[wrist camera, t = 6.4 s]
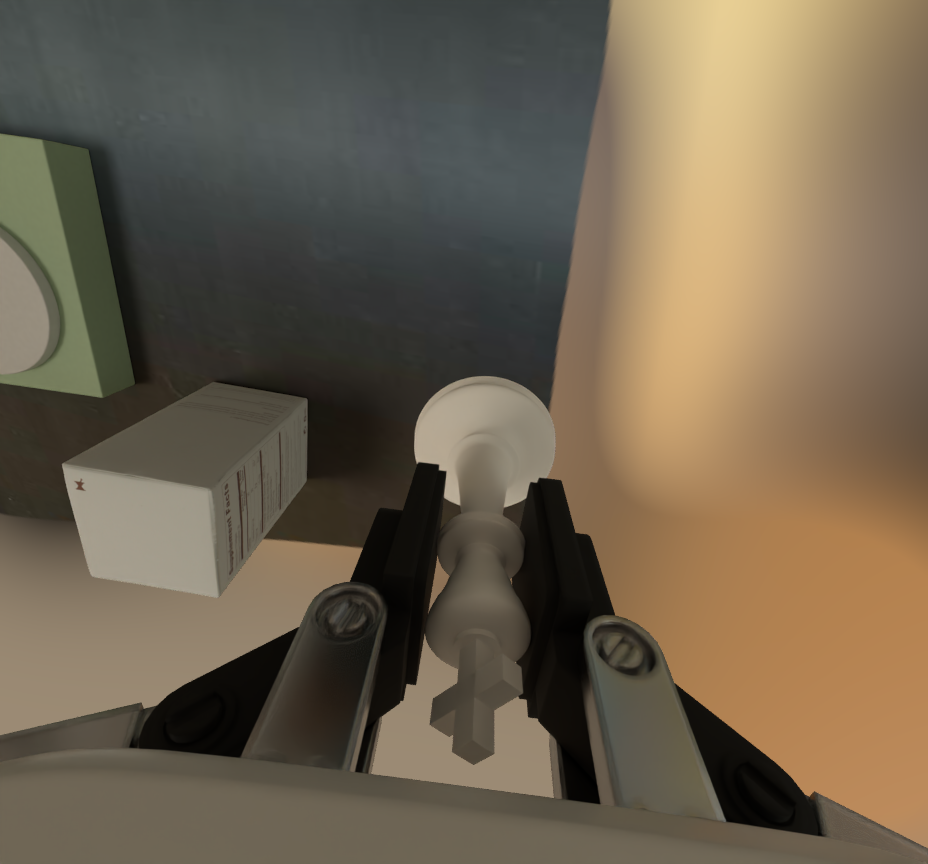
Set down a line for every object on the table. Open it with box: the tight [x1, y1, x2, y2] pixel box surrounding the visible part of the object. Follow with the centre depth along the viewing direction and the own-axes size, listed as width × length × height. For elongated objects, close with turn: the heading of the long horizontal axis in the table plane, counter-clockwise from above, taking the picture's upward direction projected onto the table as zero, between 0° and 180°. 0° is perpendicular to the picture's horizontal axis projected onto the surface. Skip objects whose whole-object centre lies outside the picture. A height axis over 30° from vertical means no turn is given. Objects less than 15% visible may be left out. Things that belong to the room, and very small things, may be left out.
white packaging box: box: [62, 382, 308, 598], centre depth 28 cm, size 7×7×13 cm
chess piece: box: [414, 376, 556, 765], centre depth 11 cm, size 5×5×10 cm
